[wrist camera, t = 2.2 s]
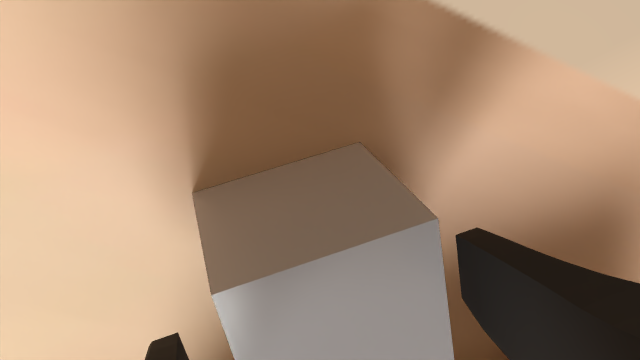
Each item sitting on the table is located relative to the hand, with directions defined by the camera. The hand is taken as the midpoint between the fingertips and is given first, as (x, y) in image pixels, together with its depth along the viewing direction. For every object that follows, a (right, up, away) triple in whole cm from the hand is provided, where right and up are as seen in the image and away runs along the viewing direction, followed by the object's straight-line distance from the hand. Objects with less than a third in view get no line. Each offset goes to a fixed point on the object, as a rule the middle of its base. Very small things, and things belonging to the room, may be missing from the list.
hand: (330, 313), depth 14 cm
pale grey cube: (-1, +1, +3) cm, 4 cm away
